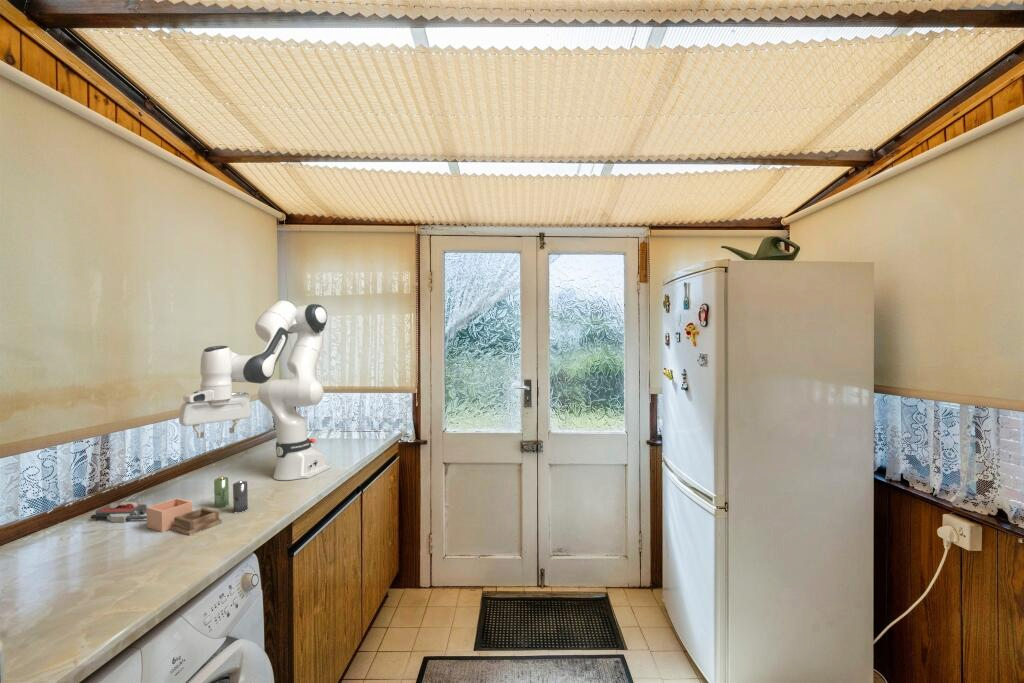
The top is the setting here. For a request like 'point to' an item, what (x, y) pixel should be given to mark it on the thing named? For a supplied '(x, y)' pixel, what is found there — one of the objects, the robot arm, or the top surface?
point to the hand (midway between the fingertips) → (216, 435)
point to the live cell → (221, 492)
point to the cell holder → (196, 521)
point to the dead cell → (240, 496)
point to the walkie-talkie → (121, 512)
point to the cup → (166, 513)
